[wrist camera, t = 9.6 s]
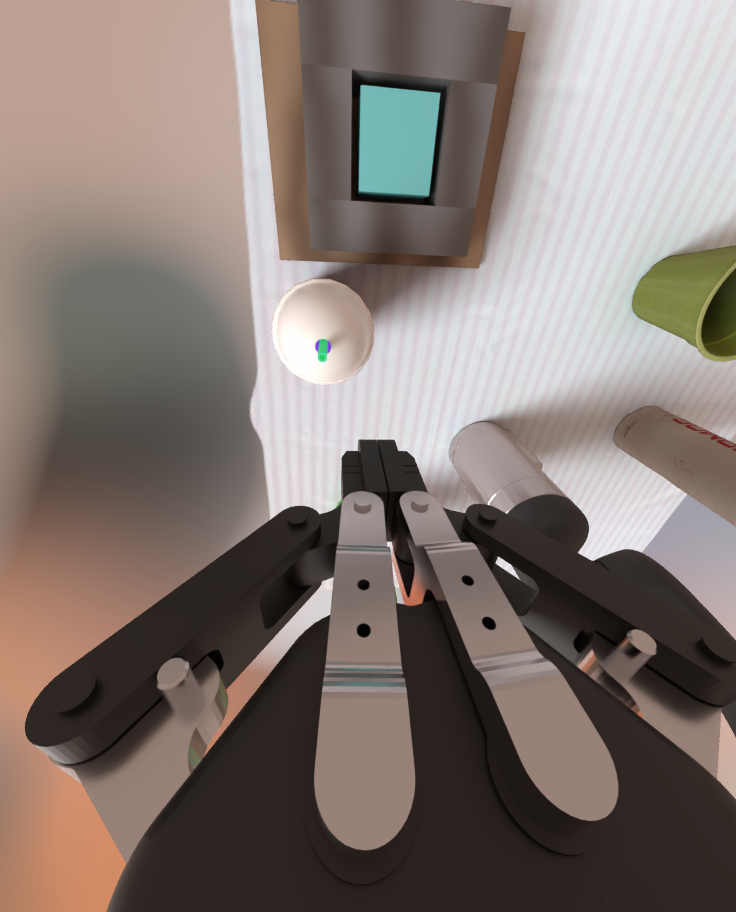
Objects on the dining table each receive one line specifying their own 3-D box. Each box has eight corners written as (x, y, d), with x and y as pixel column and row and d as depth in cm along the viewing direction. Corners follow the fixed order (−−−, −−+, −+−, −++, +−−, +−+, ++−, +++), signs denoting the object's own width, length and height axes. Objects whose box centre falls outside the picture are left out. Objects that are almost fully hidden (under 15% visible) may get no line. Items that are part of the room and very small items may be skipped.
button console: (518, 40, 27) (561, -9, 22) (474, 267, 37) (498, 270, 31) (258, 8, 25) (239, -55, 20) (281, 259, 34) (272, 260, 29)
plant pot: (624, 355, 44) (703, 383, 35) (602, 281, 39) (689, 290, 29) (714, 297, 41) (828, 310, 32) (705, 206, 36) (840, 190, 26)
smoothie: (298, 258, 34) (266, 264, 18) (370, 284, 36) (402, 311, 20) (284, 335, 39) (249, 398, 22) (350, 354, 41) (363, 426, 24)
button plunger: (427, 112, 28) (440, 92, 24) (418, 201, 31) (428, 195, 28) (357, 105, 27) (360, 84, 24) (355, 197, 30) (358, 191, 27)
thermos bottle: (645, 397, 49) (937, 532, 25) (673, 418, 51) (962, 557, 28) (603, 438, 52) (826, 590, 29) (632, 455, 55) (857, 607, 31)
